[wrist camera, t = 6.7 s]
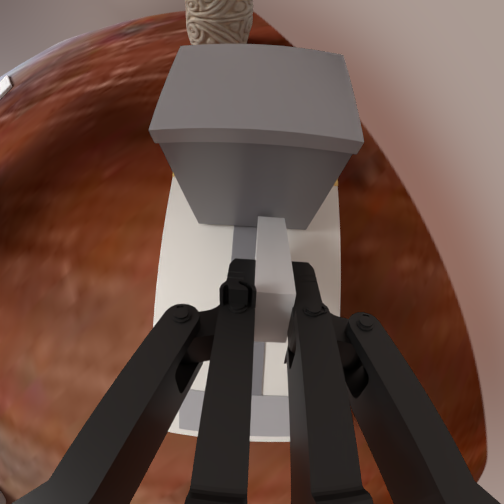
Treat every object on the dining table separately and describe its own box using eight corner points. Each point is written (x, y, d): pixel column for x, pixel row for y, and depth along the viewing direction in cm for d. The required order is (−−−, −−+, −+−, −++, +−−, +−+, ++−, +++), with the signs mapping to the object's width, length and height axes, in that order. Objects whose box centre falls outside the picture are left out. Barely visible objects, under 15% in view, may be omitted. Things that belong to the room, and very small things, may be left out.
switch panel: (318, 424, 18) (328, 440, 15) (163, 415, 18) (151, 429, 15) (321, 127, 24) (329, 106, 21) (195, 120, 24) (190, 98, 21)
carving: (257, 58, 26) (260, -27, 15) (193, 68, 26) (177, -18, 14) (247, 34, 28) (247, -39, 16) (190, 43, 27) (177, -31, 16)
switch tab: (307, 231, 18) (364, 142, 8) (196, 225, 18) (148, 130, 8) (306, 163, 19) (343, 55, 9) (206, 157, 19) (180, 46, 9)
